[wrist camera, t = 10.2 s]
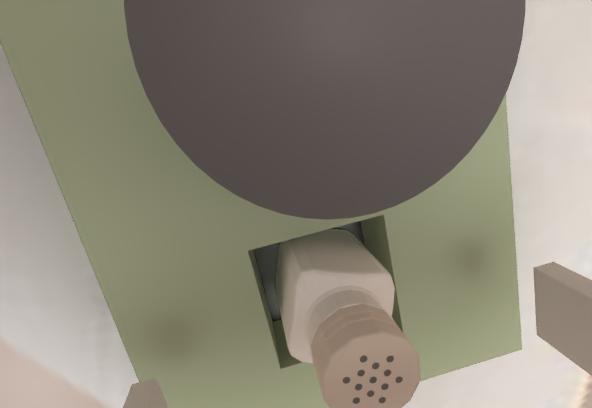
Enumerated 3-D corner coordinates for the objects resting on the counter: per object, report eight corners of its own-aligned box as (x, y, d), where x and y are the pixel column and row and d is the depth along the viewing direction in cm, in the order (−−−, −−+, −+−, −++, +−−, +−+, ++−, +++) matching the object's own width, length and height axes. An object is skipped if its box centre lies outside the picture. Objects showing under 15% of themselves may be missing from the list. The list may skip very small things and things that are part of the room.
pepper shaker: (272, 291, 20) (300, 437, 11) (280, 222, 20) (316, 319, 10) (342, 294, 21) (421, 432, 12) (352, 227, 20) (446, 322, 11)
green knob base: (22, -33, 15) (-259, -221, 7) (431, -109, 17) (634, -341, 8) (183, 395, 21) (145, 591, 13) (473, 309, 23) (618, 430, 14)
